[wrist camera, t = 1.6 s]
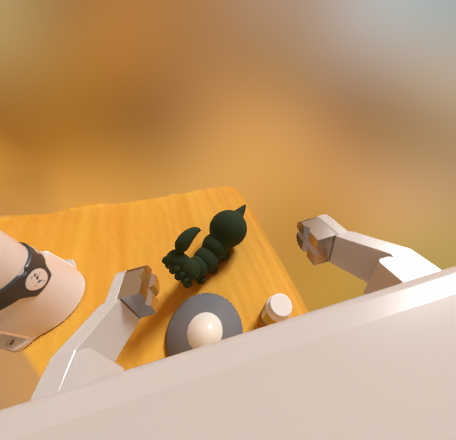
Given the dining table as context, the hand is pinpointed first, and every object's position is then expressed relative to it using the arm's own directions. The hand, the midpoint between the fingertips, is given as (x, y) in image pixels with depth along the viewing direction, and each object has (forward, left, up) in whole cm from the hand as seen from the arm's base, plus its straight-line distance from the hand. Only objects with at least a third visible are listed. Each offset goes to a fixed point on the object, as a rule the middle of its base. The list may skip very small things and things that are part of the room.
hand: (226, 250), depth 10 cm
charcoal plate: (-4, +2, -34) cm, 35 cm away
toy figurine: (-2, +20, -35) cm, 40 cm away
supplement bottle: (+10, +5, -35) cm, 36 cm away
